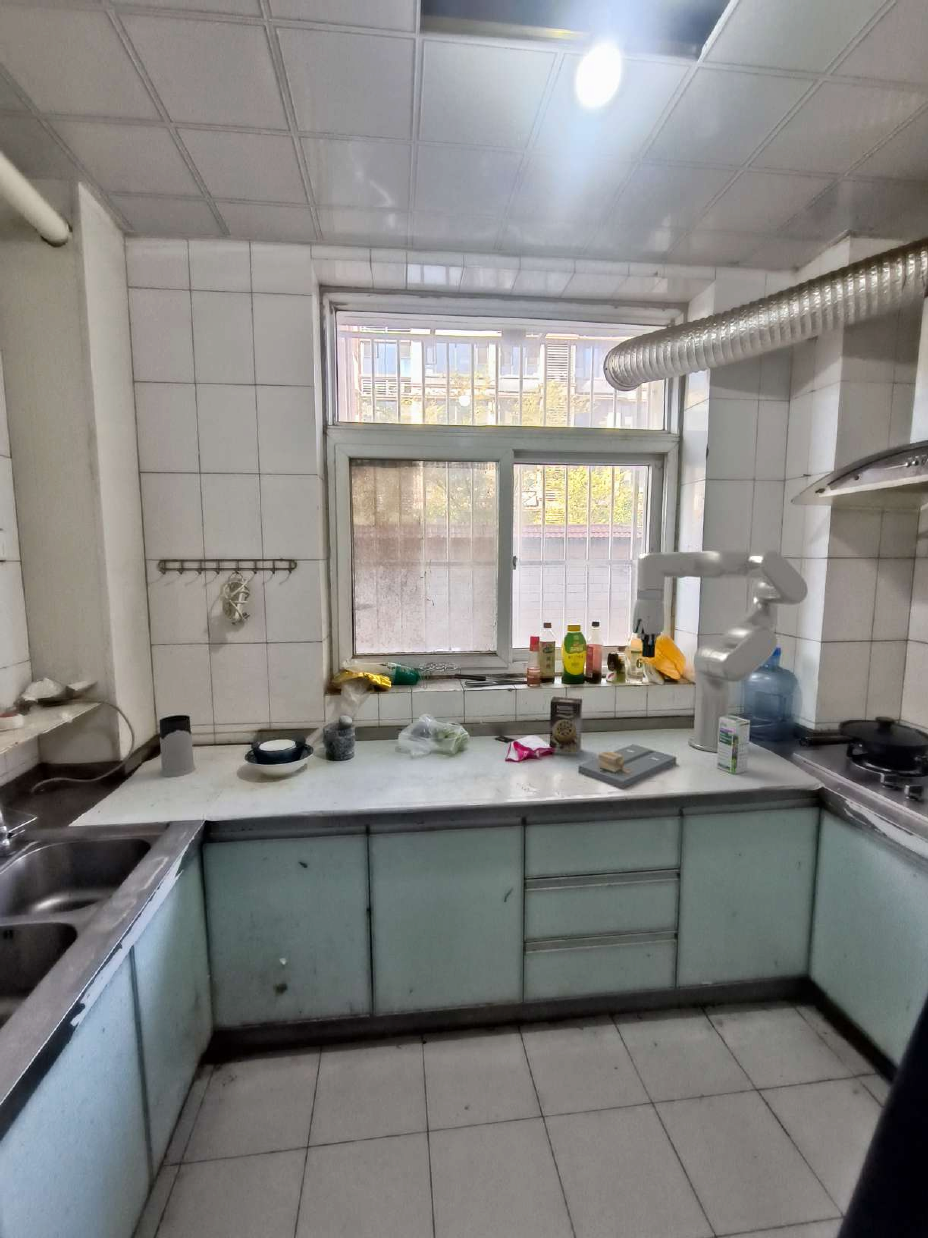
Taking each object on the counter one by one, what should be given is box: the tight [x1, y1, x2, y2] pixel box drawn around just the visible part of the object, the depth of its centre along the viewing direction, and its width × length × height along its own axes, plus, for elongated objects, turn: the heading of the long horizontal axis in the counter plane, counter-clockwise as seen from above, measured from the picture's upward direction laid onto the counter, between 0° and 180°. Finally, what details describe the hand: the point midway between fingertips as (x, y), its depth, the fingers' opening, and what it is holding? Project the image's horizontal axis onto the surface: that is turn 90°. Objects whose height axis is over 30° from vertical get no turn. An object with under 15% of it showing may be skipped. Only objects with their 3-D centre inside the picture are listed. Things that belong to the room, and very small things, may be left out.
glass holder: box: [159, 714, 196, 778], centre depth 152 cm, size 9×14×15 cm, turn 36°
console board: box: [577, 743, 677, 790], centre depth 150 cm, size 26×14×2 cm, turn 129°
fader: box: [598, 750, 623, 772], centre depth 145 cm, size 4×5×4 cm
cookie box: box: [549, 696, 583, 757], centre depth 163 cm, size 9×6×16 cm
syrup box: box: [716, 715, 751, 775], centre depth 148 cm, size 6×6×14 cm
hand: (648, 656), depth 159 cm, fingers closed
